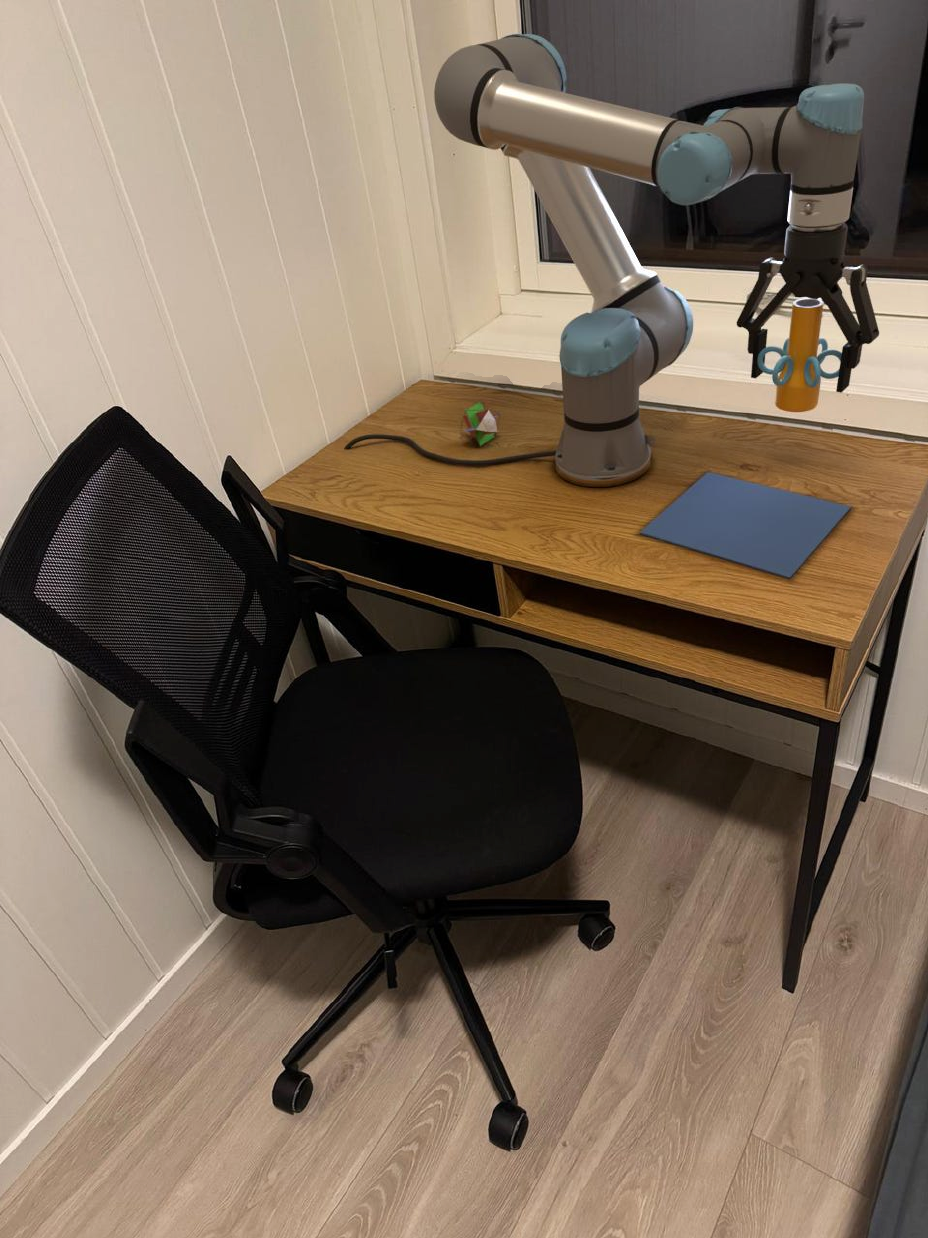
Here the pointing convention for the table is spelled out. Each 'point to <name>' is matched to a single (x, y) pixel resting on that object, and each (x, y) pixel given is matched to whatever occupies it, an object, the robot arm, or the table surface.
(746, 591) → the table surface
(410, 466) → the table surface
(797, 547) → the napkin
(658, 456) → the table surface
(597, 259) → the robot arm
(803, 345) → the cylinder
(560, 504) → the table surface
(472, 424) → the geometric puzzle
